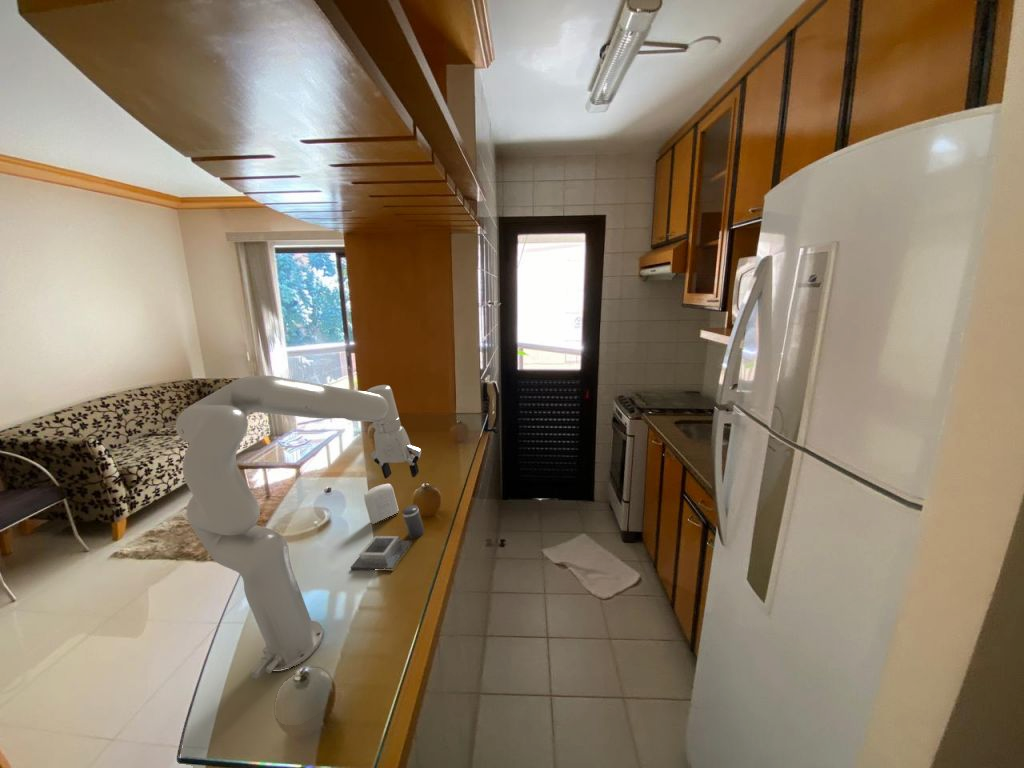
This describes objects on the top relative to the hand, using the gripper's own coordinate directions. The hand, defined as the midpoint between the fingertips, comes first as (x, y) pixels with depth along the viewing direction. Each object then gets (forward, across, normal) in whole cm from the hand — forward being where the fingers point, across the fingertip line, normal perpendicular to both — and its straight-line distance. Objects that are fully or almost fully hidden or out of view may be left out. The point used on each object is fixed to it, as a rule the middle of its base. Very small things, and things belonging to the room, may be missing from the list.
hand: (401, 475), depth 124 cm
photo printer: (+21, -17, +8) cm, 29 cm away
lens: (+21, 0, 0) cm, 21 cm away
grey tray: (+21, -6, -12) cm, 25 cm away
